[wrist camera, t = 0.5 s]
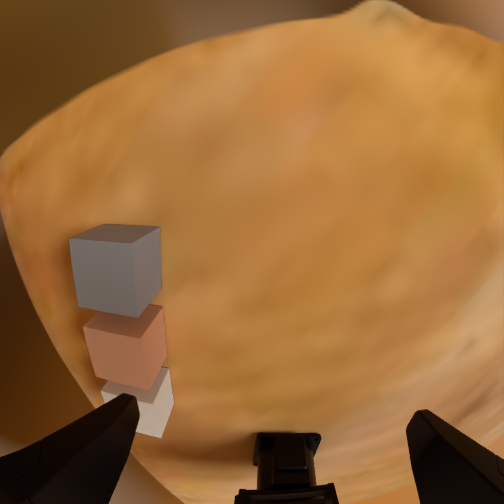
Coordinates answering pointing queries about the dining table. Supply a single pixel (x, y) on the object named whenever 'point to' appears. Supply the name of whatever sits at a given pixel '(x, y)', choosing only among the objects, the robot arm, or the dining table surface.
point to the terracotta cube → (127, 346)
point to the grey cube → (117, 268)
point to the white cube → (147, 402)
